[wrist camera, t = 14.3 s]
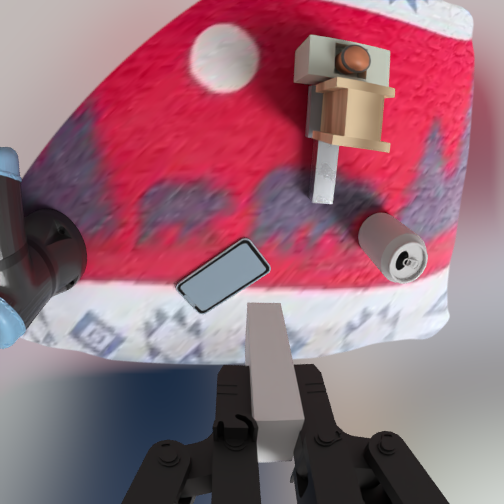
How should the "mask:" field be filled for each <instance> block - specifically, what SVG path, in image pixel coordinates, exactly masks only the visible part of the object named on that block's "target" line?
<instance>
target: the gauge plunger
mask: <svg viewBox="0 0 504 504" xmlns="http://www.w3.org/2000/svg"><path fill="white" fill-rule="evenodd" d="M370 64H371V58H370V55H369V53H368V51H367V50H366V49H365V48H363V47H362V46H360V45H349V46H347V47H346V48H344V49H343V51H342V52H340V53H339V54H337V55H336V56H335V67H336V69H337V70H338V71H339V72H340V73H342V74H346V75H348V74H352V73H361V72H364V71H366V70H367V69H368V68H369V67H370Z"/></svg>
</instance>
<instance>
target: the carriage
mask: <svg viewBox="0 0 504 504" xmlns="http://www.w3.org/2000/svg"><path fill="white" fill-rule="evenodd" d="M394 97H395V88H391V87H386V86H382V85H378V84H373V83H368V82H363V81H358V80H353V79H347V78H341V77H335V78H333V79H330V80H327V81H325V82H322V83H319V84H317V85H316V86H315V85H311V86H309V89H308V104H307V118H306V132H305V137H308V138H313V139H316V140H319V141H322V142H325V143H329V144H332V145H339V146H347V147H355V148H362V149H369V150H376V151H382V152H389V151H390V143H387V142H382V141H380V140H381V130H382V119H383V107H384V98H394Z"/></svg>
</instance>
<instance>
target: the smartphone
mask: <svg viewBox="0 0 504 504" xmlns="http://www.w3.org/2000/svg"><path fill="white" fill-rule="evenodd" d="M270 270H271V267H270V265H269V263H268V262H267V261H266V259H265V258H264V257H263V256H262V254H261V253H260V252H259V250H258V249H257V248H256V247H255V245H254V244H253V243H252V241H251V240H250V239H248V238H242V239H240V240H239V241H238V242H236V243H235V244H233V245H232V246H230V247H229V248H227V249H226V250H225V251H223V252H222V253H220V254H219V255H217V256H216V257H214V258H213V259H211V260H210V261H209V262H207V263H206V264H204V265H203V266H201V267H200V268H198V269H197V270H195V271H194V272H192V273H191V274H190V275H188V276H187V277H186V278H184V279H183V280H181V281H180V282H178V283H177V286H176V290H177V291H178V292H179V294H180V295H181V296H182V297H183V298H184V299H185V300H186V301H187V302H188V303H189V304H190V305H191V306H192V307H193V308H194V309H195V310H196V311H197V312H198V313H199V314H206V313H207V312H209V311H211V310H212V309H214V308H215V307H217V306H218V305H220V304H222V303H223V302H225V301H226V300H228V299H229V298H231V297H232V296H234V295H236V294H237V293H239V292H240V291H242V290H243V289H245V288H246V287H248V286H249V285H251V284H253V283H254V282H256V281H257V280H259V279H260V278H262V277H263V276H265V275H266V274H268V273H269V272H270Z"/></svg>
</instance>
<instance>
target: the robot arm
mask: <svg viewBox="0 0 504 504" xmlns="http://www.w3.org/2000/svg"><path fill="white" fill-rule="evenodd" d="M20 182H22V178H21V177H20V172H19V161H18V155H17V153H16V151H15V150H13V149H12V148H10V147H0V349H4V348H8V347H10V346H11V345H13V344H14V343H15V341H16V340H17V339H18V338H19V337H20V336H22V335H23V334H24V333H25V331H26V329H27V328H28V327H29V325H30V324H31V323H32V321H33V320H34V319H35V317H36V316H37V315H38V313H39V312H40V311H41V310H42V308H43V307H44V306H45V304H46V303H47V302H48V301H49V299H50V298H51V297H53V296H55V295H58V294H60V293H62V292H65V291H67V290H69V289H70V288H72V287H73V286H74V285H75V284H76V283H77V282H78V281H79V279H80V278H81V277H82V275H83V273H84V271H85V268H86V263H87V253H86V247H85V243H84V240H83V238H82V236H81V234H80V232H79V230H78V229H77V227H76V226H75V225H74V224H73V222H72V221H71V220H70V219H68V218H67V217H66V216H65V215H63V214H62V213H60V212H58V211H55V210H51V209H40V210H37V211H35V212H33V213H31V214H30V215H28V216H26V217H25V218H24V214H23V205H22V195H21V183H20ZM245 363H246V366H241V365H240V366H239V365H223V367H222V368H221V370H220V371H219V373H218V378H217V398H216V418H215V421H214V424H213V432H212V434H211V435H210V436H209V437H208V438H207V439H205V440H203V441H201V442H198V443H194V444H188V445H183V444H182V443H180V442H177V441H173V440H164V441H159V442H157V443H156V444H154V445H153V446H152V447H151V448H150V449H149V451H148V453H147V454H146V456H145V458H144V460H143V462H142V465H141V466H140V468H139V470H138V472H137V474H136V476H135V478H134V480H133V482H132V484H131V486H130V488H129V490H128V491H127V493H126V496H125V497H124V499H123V501H122V503H121V504H193V503H194V500H195V497H196V496H197V495H202V494H207V493H211V492H212V502H211V504H261V496H260V482H259V468H258V462H280V461H281V462H282V461H292V458H293V455H294V461H295V467H294V470H293V473H292V475H291V479H290V483H293V481H294V484H295V491H296V498H297V504H449V502H448V501H447V500H446V498H445V497H444V495H443V494H442V493H441V491H440V490H439V488H438V487H437V486H436V484H435V483H434V482H433V480H432V479H431V478H430V476H429V475H428V474H427V472H426V471H425V469H424V468H423V466H422V465H421V464H420V462H419V461H418V460H417V458H416V457H415V456H414V454H413V453H412V451H411V450H410V449H409V447H408V446H407V445H406V443H405V442H404V441H403V439H402V438H401V437H400V436H399V435H397V434H395V433H393V432H388V431H382V432H378V433H376V434H375V435H373V436H372V437H371V438H364V437H356V436H351V435H349V434H347V433H345V432H343V431H342V430H341V429H340V428H339V427H338V426H337V425H336V422H335V420H334V416H333V413H332V409H331V406H330V402H329V399H328V395H327V393H326V388H325V385H324V382H323V378H322V374H321V372H320V371H319V370H318V369H317V368H316V366H315V365H314V364H302V365H293V360H292V355H291V350H290V345H289V341H288V336H287V331H286V327H285V322H284V317H283V313H282V308H281V303H247V321H246V339H245Z"/></svg>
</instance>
